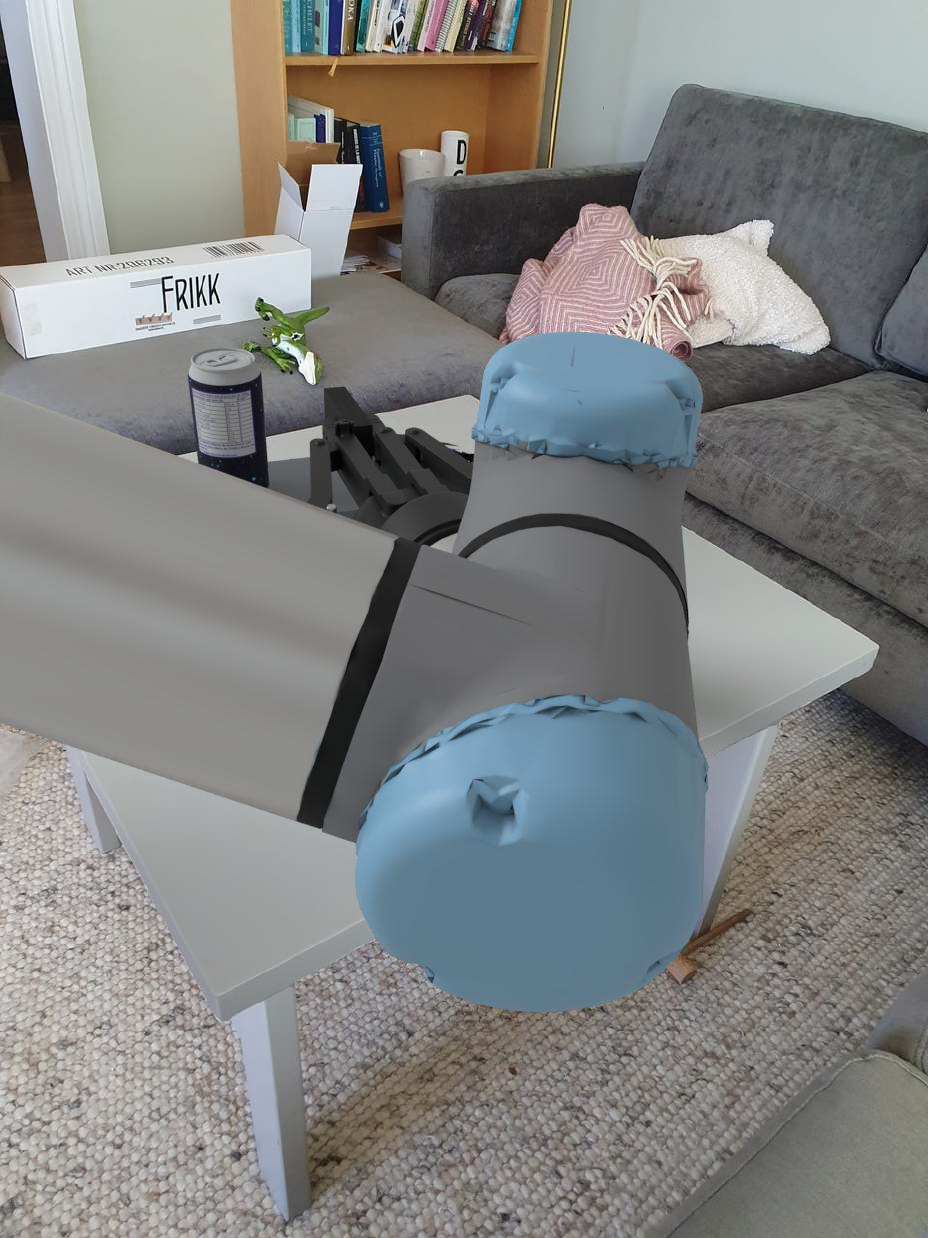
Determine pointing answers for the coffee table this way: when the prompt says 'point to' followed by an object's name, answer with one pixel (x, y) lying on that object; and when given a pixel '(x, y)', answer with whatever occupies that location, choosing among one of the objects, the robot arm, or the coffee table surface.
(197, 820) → the coffee table surface
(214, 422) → the beverage can
